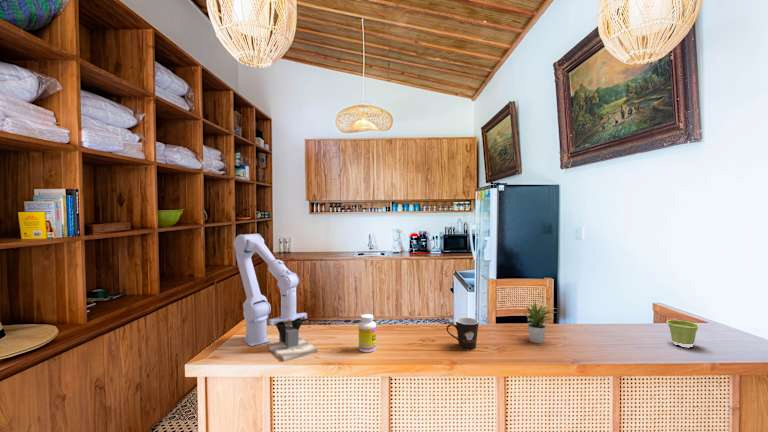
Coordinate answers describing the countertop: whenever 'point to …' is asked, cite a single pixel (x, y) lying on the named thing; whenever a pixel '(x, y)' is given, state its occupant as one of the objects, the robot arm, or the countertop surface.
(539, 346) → the countertop surface
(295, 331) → the block
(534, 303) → the house plant
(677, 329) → the plant pot
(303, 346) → the ash board
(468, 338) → the coffee mug
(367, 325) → the supplement bottle
